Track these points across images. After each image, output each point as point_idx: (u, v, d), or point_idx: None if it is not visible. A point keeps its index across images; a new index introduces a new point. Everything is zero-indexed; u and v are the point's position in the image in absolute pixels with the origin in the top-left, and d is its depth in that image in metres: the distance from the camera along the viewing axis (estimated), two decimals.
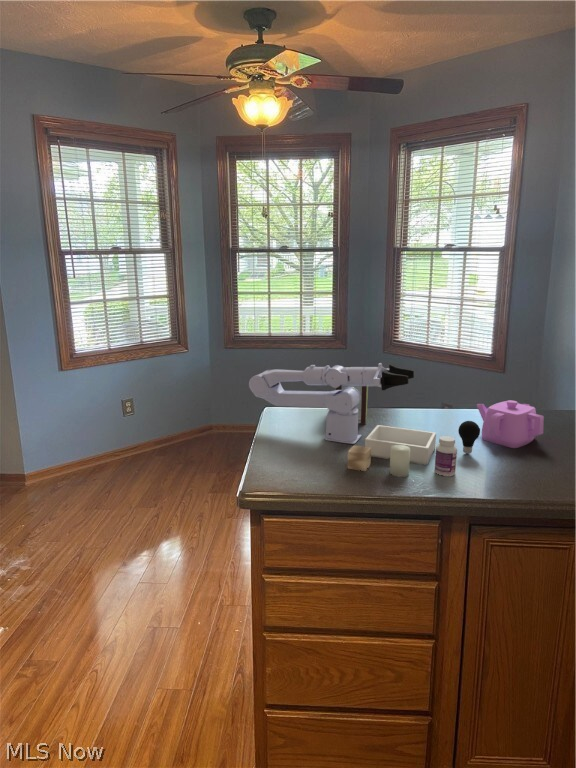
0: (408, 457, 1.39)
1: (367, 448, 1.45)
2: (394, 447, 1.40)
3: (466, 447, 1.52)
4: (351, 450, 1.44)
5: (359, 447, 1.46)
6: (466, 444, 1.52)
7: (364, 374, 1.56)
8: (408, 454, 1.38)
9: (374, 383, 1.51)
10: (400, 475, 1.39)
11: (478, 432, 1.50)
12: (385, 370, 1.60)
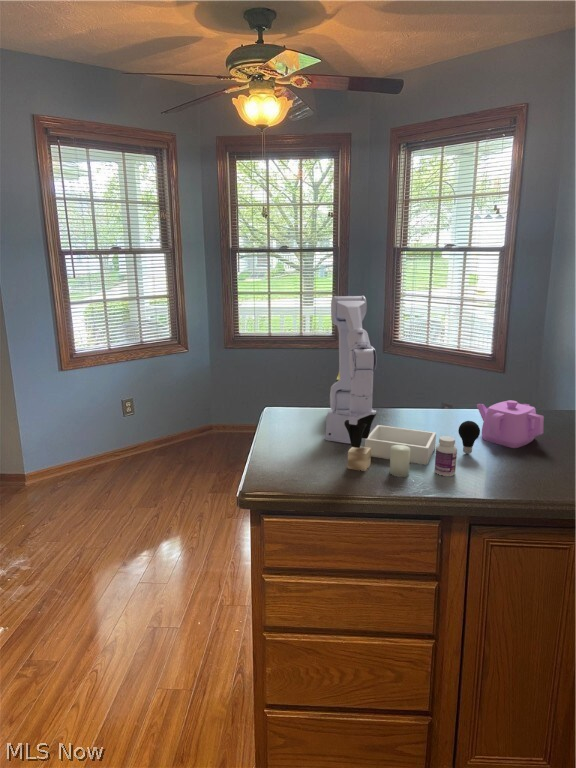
0: (408, 457, 1.39)
1: (367, 448, 1.45)
2: (394, 447, 1.40)
3: (466, 447, 1.52)
4: (351, 450, 1.44)
5: (359, 447, 1.46)
6: (466, 444, 1.52)
7: (363, 398, 1.38)
8: (408, 454, 1.38)
9: (351, 418, 1.36)
10: (400, 475, 1.39)
11: (478, 432, 1.50)
12: None
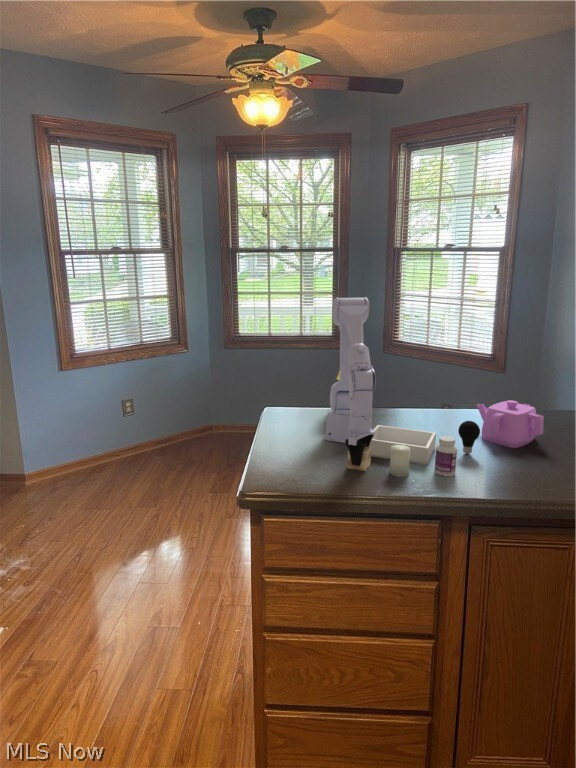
0: (408, 457, 1.39)
1: (367, 448, 1.45)
2: (394, 447, 1.40)
3: (466, 447, 1.52)
4: None
5: None
6: (466, 444, 1.52)
7: (362, 419, 1.39)
8: (408, 454, 1.38)
9: (350, 438, 1.37)
10: (400, 475, 1.39)
11: (478, 432, 1.50)
12: None
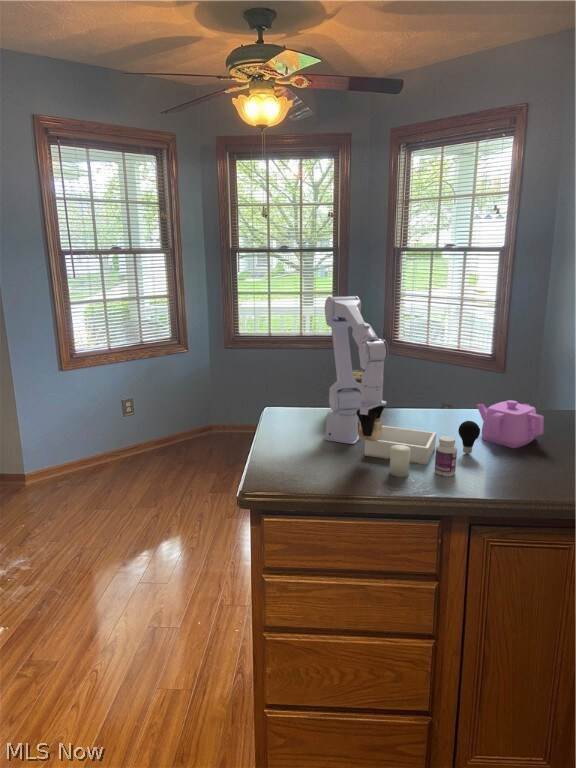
0: (408, 457, 1.39)
1: (378, 419, 1.47)
2: (394, 447, 1.40)
3: (466, 447, 1.52)
4: None
5: None
6: (466, 444, 1.52)
7: (373, 389, 1.42)
8: (408, 454, 1.38)
9: (361, 408, 1.39)
10: (400, 475, 1.39)
11: (478, 432, 1.50)
12: None
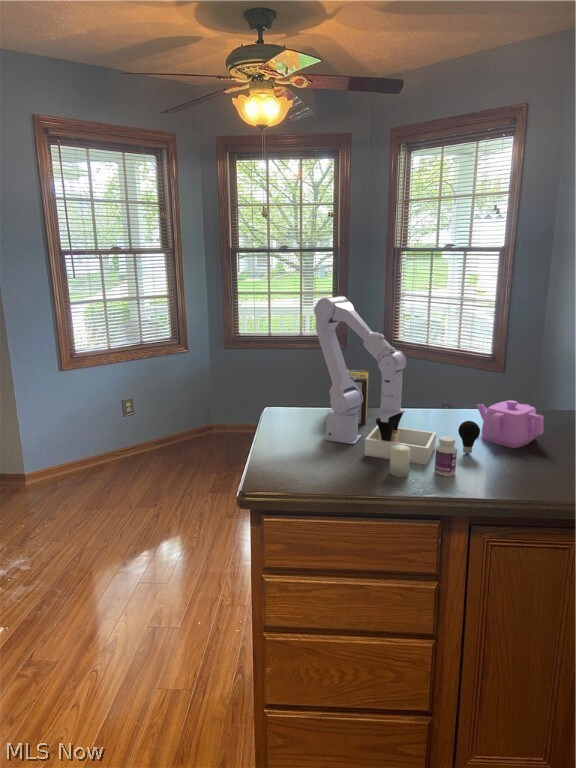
0: (408, 457, 1.39)
1: (396, 431, 1.57)
2: (394, 447, 1.40)
3: (466, 447, 1.52)
4: None
5: None
6: (466, 444, 1.52)
7: (393, 398, 1.50)
8: (408, 454, 1.38)
9: (382, 416, 1.48)
10: (400, 475, 1.39)
11: (478, 432, 1.50)
12: None
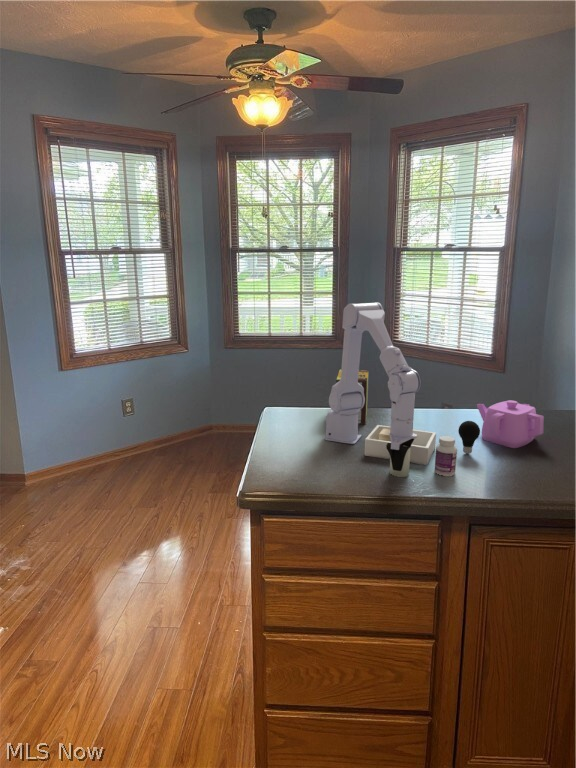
0: (408, 457, 1.39)
1: None
2: None
3: (466, 447, 1.52)
4: (382, 433, 1.55)
5: (389, 430, 1.57)
6: (466, 444, 1.52)
7: (404, 422, 1.35)
8: (408, 454, 1.38)
9: (393, 443, 1.32)
10: (400, 475, 1.39)
11: (478, 432, 1.50)
12: None
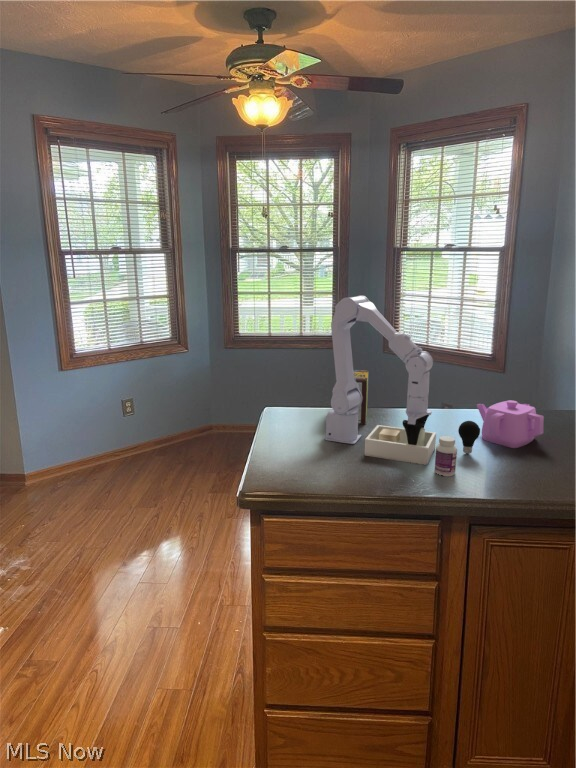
0: (423, 437, 1.51)
1: (396, 431, 1.57)
2: None
3: (466, 447, 1.52)
4: (382, 433, 1.55)
5: (389, 430, 1.57)
6: (466, 444, 1.52)
7: (420, 400, 1.47)
8: (423, 434, 1.51)
9: (409, 418, 1.45)
10: None
11: (478, 432, 1.50)
12: None
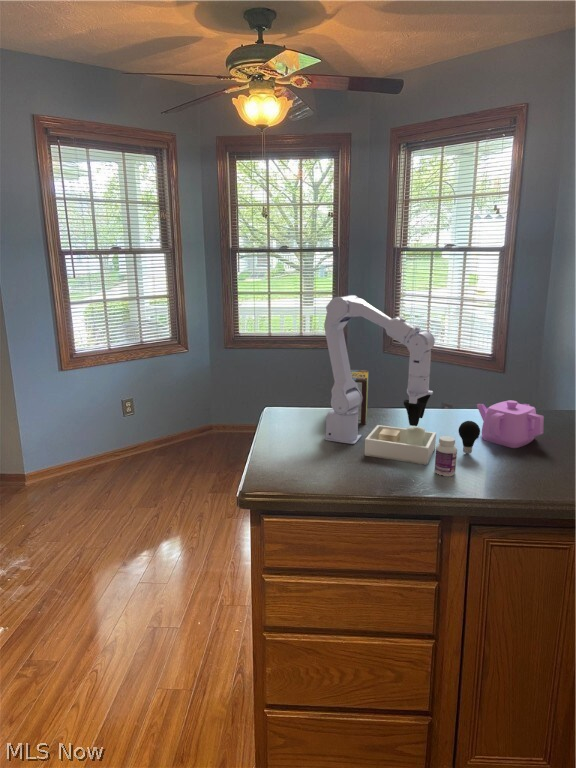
0: (423, 437, 1.51)
1: (396, 431, 1.57)
2: (410, 428, 1.53)
3: (466, 447, 1.52)
4: (382, 433, 1.55)
5: (389, 430, 1.57)
6: (466, 444, 1.52)
7: (421, 379, 1.46)
8: (423, 434, 1.51)
9: (411, 397, 1.43)
10: None
11: (478, 432, 1.50)
12: None
